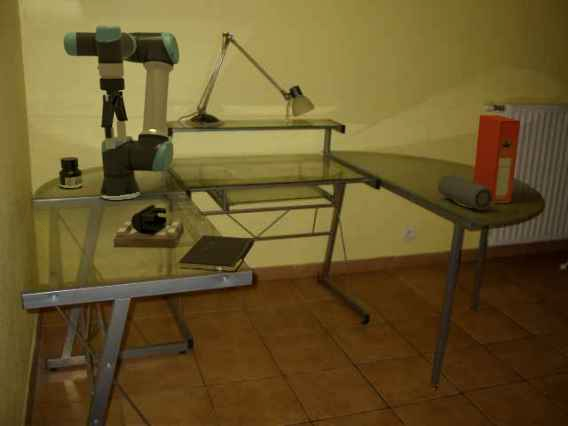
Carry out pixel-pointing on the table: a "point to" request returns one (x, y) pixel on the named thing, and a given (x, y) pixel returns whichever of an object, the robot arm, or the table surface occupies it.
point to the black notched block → (149, 220)
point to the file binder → (496, 155)
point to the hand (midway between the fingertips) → (116, 144)
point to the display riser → (149, 236)
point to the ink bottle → (70, 172)
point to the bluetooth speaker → (465, 192)
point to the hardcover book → (217, 252)
